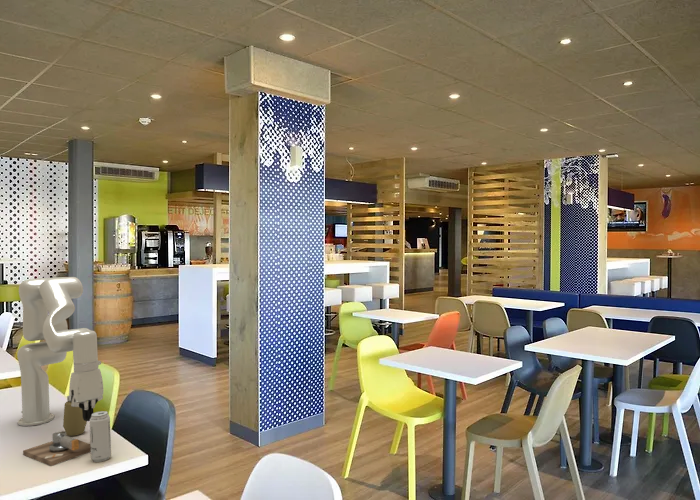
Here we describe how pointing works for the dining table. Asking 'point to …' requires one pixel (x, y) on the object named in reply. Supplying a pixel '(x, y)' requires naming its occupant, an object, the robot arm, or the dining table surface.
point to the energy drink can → (100, 436)
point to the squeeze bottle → (73, 419)
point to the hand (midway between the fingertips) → (88, 420)
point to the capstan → (63, 442)
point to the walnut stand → (55, 453)
